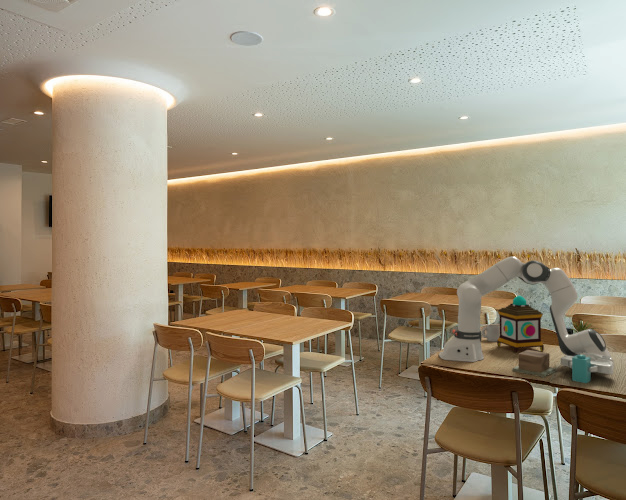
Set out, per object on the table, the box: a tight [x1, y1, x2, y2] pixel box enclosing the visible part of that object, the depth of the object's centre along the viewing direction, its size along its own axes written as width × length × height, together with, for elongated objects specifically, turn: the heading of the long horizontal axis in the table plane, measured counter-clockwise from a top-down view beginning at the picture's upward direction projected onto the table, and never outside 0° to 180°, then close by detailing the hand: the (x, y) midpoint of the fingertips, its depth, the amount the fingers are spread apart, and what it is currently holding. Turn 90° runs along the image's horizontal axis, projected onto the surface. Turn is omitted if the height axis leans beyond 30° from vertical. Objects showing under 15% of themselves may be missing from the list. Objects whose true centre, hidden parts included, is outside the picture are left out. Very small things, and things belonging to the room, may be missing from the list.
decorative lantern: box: [496, 295, 545, 354], centre depth 250 cm, size 20×20×30 cm
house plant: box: [571, 319, 599, 334], centre depth 247 cm, size 14×14×16 cm
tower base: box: [511, 349, 557, 378], centre depth 210 cm, size 14×14×8 cm
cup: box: [481, 324, 500, 343], centre depth 272 cm, size 7×10×9 cm
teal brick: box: [571, 354, 592, 384], centre depth 195 cm, size 6×6×11 cm
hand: (580, 368), depth 194 cm, fingers closed on teal brick, 5 cm apart
